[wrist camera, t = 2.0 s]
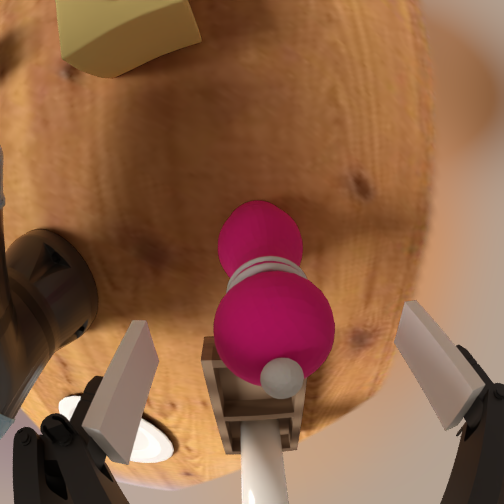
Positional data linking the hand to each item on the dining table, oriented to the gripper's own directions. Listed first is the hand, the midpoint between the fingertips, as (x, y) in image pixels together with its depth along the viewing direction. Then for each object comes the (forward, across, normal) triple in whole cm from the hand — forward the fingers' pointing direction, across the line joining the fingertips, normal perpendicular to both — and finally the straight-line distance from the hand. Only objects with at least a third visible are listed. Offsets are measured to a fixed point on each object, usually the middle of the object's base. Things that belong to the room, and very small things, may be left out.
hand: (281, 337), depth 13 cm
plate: (+17, -30, -39) cm, 52 cm away
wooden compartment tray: (+16, -2, -25) cm, 30 cm away
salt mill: (+15, -1, -30) cm, 34 cm away
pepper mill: (+16, 0, 0) cm, 17 cm away
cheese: (+16, -10, +23) cm, 30 cm away
